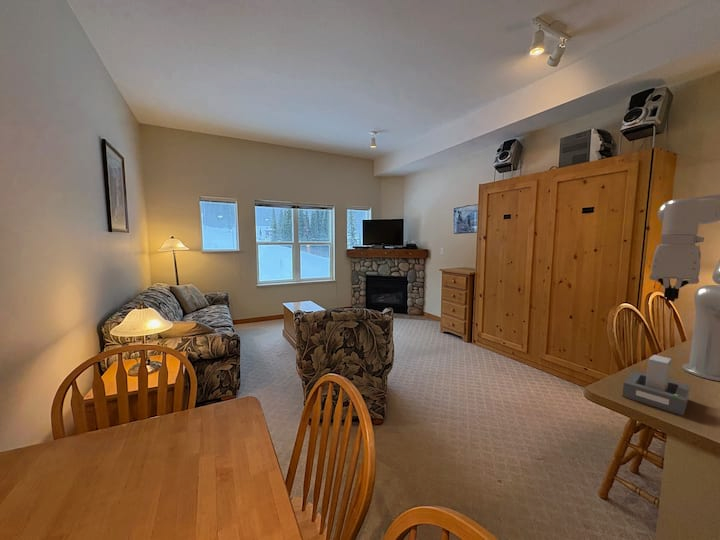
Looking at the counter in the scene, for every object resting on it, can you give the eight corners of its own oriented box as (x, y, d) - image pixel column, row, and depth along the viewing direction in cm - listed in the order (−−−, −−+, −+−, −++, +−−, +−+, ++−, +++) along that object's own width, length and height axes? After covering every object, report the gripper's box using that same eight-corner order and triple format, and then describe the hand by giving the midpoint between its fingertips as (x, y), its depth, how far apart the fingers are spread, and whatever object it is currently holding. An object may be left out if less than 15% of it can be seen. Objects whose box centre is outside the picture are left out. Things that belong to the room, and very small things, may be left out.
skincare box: (662, 402, 90) (667, 363, 89) (643, 396, 94) (648, 358, 92) (667, 396, 94) (672, 358, 92) (648, 390, 97) (652, 354, 96)
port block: (631, 383, 103) (633, 369, 102) (688, 399, 93) (690, 384, 92) (622, 396, 95) (623, 381, 94) (683, 416, 85) (685, 399, 84)
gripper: (716, 241, 89) (707, 303, 92) (647, 240, 101) (640, 295, 103) (715, 241, 85) (705, 307, 87) (642, 240, 96) (635, 298, 99)
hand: (670, 300), depth 95 cm, fingers closed
